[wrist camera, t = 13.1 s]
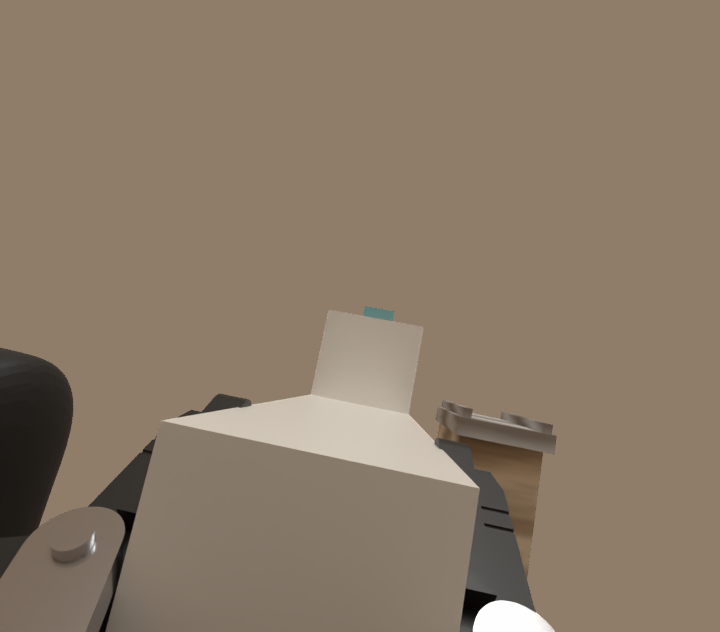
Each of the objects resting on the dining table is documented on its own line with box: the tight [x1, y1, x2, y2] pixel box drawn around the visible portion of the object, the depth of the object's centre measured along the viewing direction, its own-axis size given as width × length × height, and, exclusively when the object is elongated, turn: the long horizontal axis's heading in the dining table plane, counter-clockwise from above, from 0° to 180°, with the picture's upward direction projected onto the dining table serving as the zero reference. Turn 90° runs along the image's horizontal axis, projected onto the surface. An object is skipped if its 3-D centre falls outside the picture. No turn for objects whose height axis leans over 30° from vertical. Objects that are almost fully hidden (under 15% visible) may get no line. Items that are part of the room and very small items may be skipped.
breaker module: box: [105, 306, 480, 632], centre depth 16 cm, size 21×4×9 cm, turn 177°
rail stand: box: [436, 400, 556, 578], centre depth 38 cm, size 13×9×35 cm
